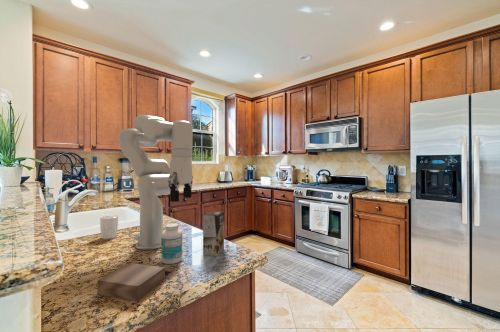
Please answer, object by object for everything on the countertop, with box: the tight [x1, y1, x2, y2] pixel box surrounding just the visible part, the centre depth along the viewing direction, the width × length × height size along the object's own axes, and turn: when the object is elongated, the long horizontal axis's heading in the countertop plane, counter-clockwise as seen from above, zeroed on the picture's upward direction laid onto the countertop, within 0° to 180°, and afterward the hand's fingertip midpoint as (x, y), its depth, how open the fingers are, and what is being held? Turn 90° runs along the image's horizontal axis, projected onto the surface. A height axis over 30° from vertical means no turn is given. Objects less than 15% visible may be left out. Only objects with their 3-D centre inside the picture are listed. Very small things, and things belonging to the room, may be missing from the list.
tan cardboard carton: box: [97, 262, 175, 302], centre depth 74 cm, size 13×20×5 cm, turn 166°
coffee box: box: [202, 210, 225, 257], centre depth 99 cm, size 9×6×16 cm
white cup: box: [99, 214, 119, 240], centre depth 118 cm, size 8×8×10 cm
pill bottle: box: [160, 223, 183, 265], centre depth 90 cm, size 8×7×14 cm
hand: (181, 199), depth 90 cm, fingers open, 9 cm apart
